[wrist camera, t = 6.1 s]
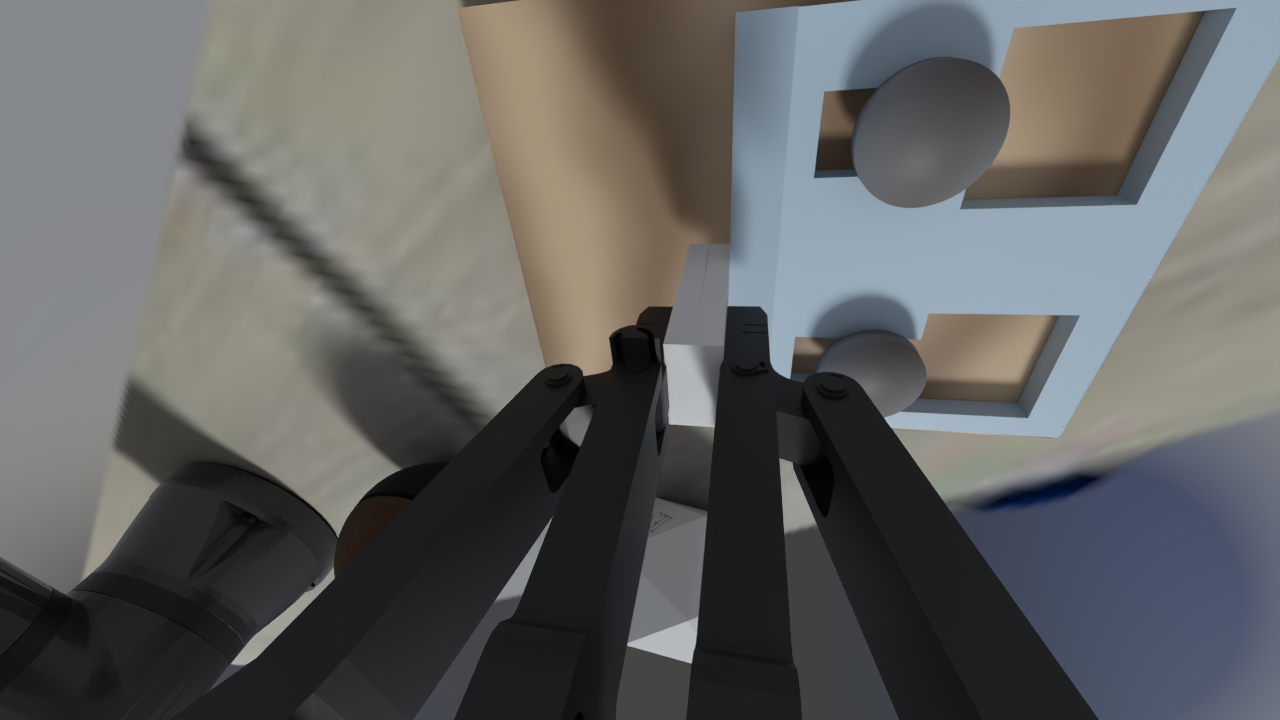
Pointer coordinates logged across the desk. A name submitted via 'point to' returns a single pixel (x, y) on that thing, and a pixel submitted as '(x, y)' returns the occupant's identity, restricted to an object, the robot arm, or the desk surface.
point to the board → (848, 139)
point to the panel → (964, 229)
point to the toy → (380, 510)
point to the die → (670, 582)
